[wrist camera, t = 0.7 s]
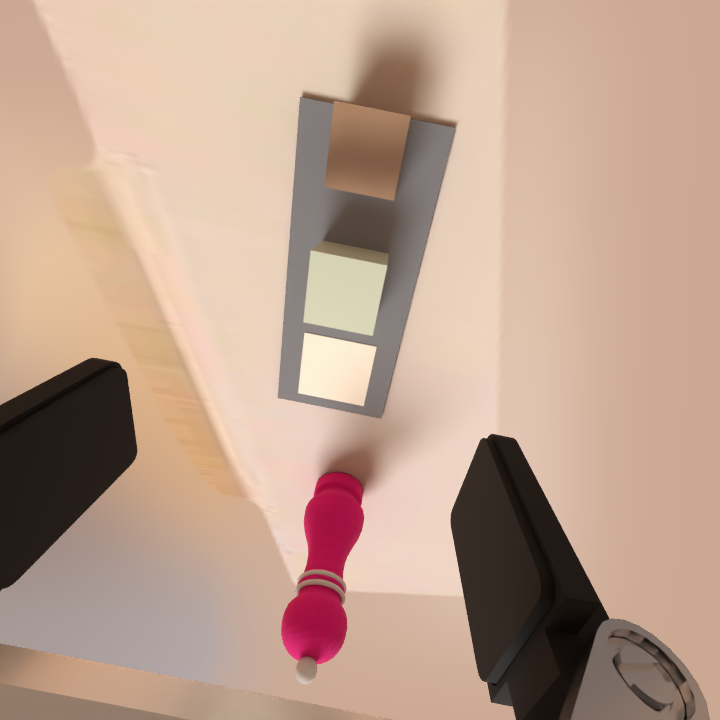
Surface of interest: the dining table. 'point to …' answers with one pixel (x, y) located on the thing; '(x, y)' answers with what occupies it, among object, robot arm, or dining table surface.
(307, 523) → the pepper mill
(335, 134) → the walnut cube
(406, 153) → the build mat
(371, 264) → the sage block
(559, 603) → the robot arm
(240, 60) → the dining table surface
